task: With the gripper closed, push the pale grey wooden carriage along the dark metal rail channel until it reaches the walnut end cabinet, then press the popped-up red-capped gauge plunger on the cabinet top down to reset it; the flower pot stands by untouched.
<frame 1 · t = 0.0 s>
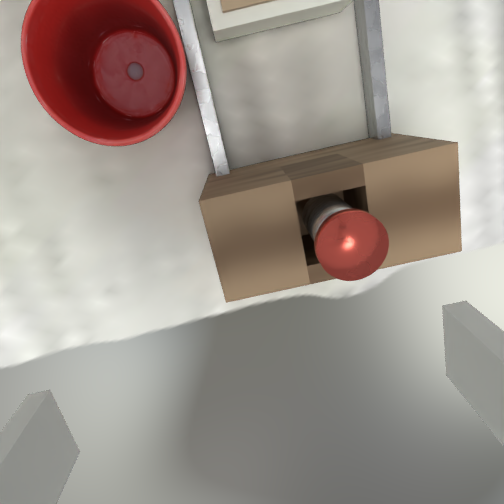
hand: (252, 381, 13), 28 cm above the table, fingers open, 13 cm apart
gauge plunger: (336, 229, 28), point 13 cm above the table, slide at 0.0 cm
rail channel: (279, 40, 35), on the table
flower pot: (137, 74, 35), on the table
end cabinet: (306, 193, 39), on the table
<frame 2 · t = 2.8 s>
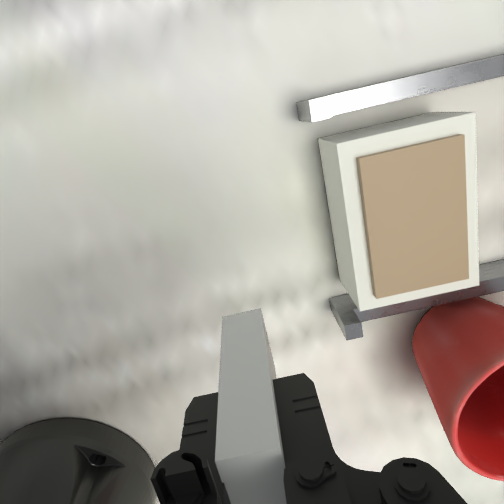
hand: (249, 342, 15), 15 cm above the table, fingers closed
carriage: (398, 211, 26), point 3 cm above the table, slide at 0.0 cm
rail channel: (448, 186, 29), on the table
flower pot: (453, 334, 34), on the table
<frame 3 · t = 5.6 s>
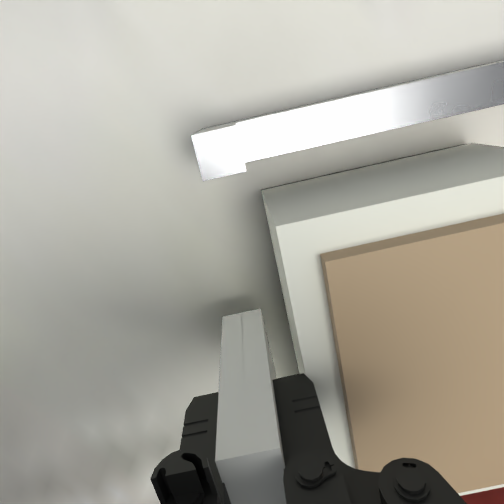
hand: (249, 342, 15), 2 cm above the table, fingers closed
carriage: (409, 331, 14), point 3 cm above the table, slide at 0.6 cm, touching gripper
rail channel: (479, 271, 17), on the table
flower pot: (480, 485, 21), on the table
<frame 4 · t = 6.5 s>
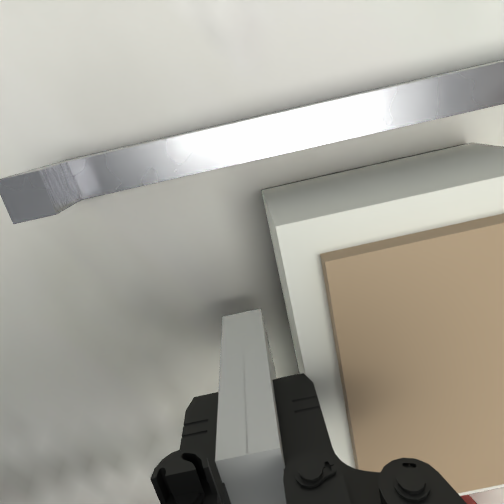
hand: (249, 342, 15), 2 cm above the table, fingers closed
carriage: (409, 331, 14), point 3 cm above the table, slide at 5.9 cm, touching gripper
rail channel: (358, 297, 17), on the table
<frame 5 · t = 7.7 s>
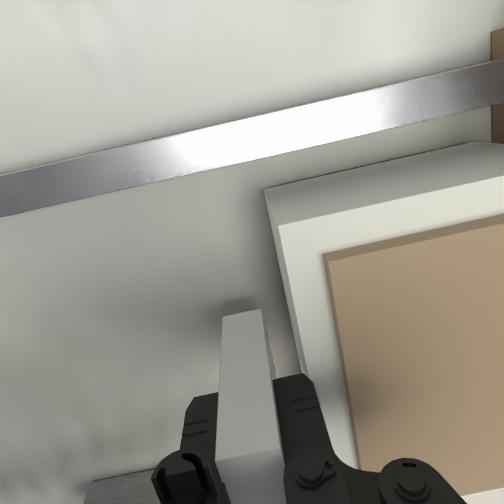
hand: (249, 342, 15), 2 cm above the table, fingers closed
carriage: (413, 331, 14), point 3 cm above the table, slide at 10.2 cm, touching gripper
rail channel: (260, 319, 17), on the table
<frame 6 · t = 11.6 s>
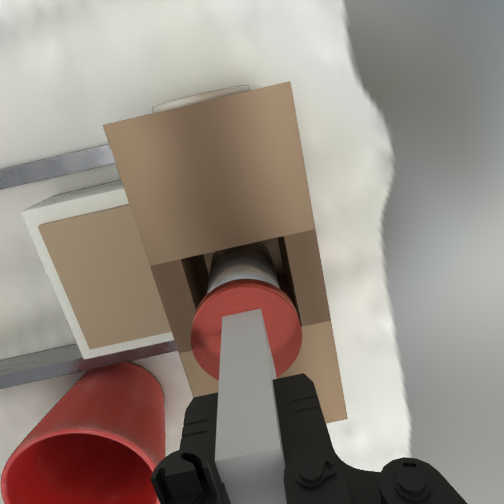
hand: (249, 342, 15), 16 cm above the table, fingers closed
carriage: (121, 265, 28), point 3 cm above the table, slide at 10.3 cm
gauge plunger: (243, 295, 19), point 12 cm above the table, slide at 0.4 cm, touching gripper
rail channel: (66, 265, 31), on the table
flower pot: (120, 394, 36), on the table
end cabinet: (239, 226, 31), on the table
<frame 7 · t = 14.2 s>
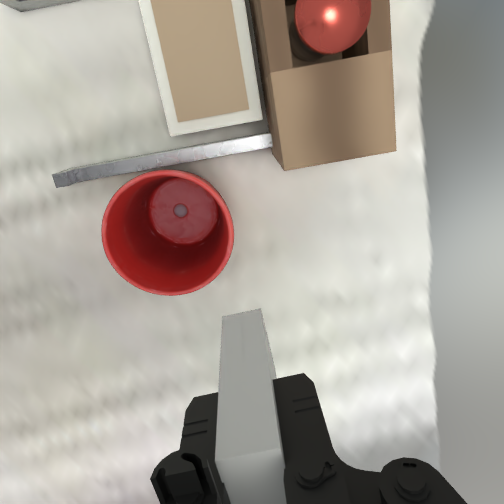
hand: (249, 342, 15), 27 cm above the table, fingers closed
carriage: (204, 60, 34), point 3 cm above the table, slide at 10.3 cm
gauge plunger: (320, 24, 27), point 10 cm above the table, slide at 2.5 cm
rail channel: (151, 75, 37), on the table
flower pot: (184, 208, 41), on the table
end cabinet: (300, 47, 36), on the table
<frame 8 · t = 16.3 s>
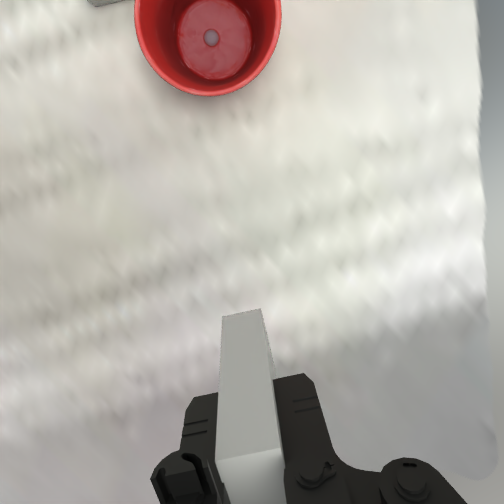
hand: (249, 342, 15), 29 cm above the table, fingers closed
flower pot: (214, 40, 38), on the table
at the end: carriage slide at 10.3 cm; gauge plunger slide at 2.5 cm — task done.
